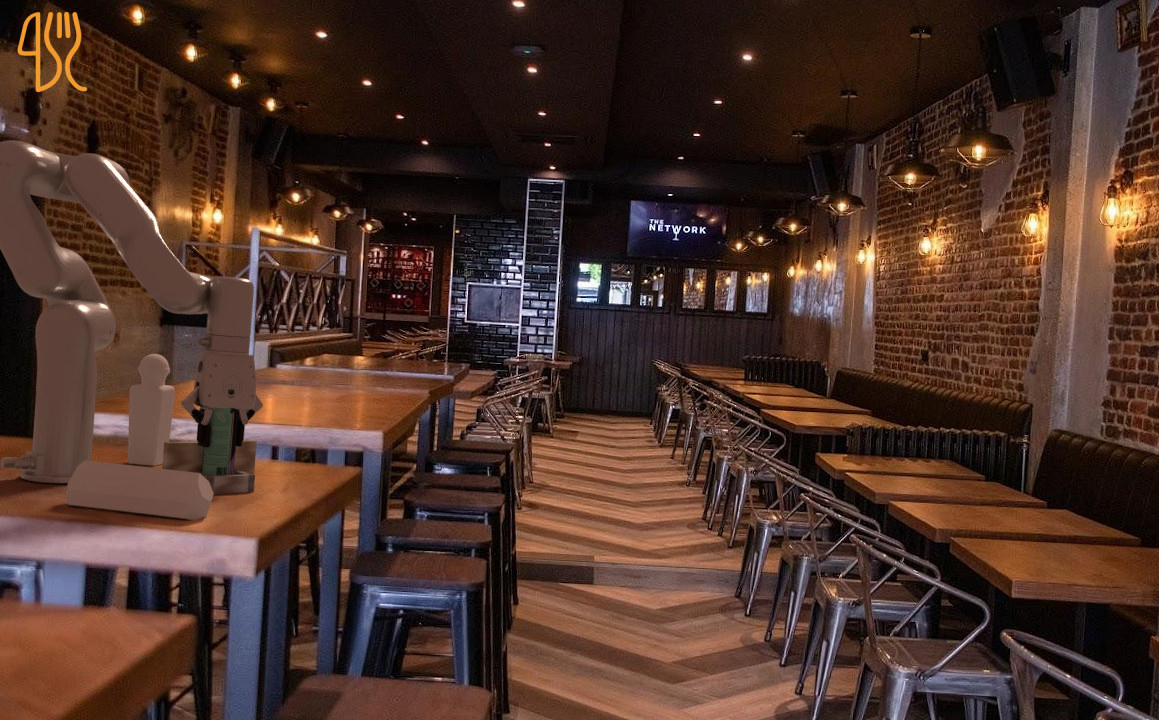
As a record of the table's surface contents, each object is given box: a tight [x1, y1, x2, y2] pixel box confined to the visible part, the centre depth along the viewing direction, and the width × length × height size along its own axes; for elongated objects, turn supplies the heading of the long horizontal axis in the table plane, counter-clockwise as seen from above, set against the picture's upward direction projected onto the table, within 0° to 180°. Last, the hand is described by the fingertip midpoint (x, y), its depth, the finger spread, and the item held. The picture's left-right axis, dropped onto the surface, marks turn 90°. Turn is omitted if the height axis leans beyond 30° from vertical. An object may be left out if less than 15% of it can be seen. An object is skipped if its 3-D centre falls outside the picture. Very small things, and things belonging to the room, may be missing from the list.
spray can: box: [202, 389, 239, 476], centre depth 187 cm, size 6×6×20 cm
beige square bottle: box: [127, 353, 176, 467], centre depth 208 cm, size 6×6×22 cm
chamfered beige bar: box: [65, 460, 215, 521], centre depth 163 cm, size 7×7×24 cm
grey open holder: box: [161, 439, 257, 495], centre depth 188 cm, size 17×9×8 cm, turn 136°
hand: (220, 444), depth 188 cm, fingers closed on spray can, 5 cm apart
